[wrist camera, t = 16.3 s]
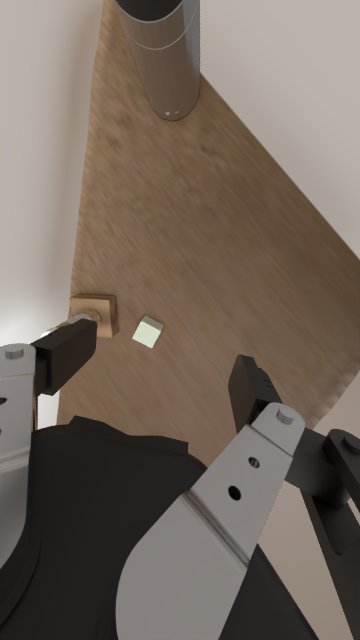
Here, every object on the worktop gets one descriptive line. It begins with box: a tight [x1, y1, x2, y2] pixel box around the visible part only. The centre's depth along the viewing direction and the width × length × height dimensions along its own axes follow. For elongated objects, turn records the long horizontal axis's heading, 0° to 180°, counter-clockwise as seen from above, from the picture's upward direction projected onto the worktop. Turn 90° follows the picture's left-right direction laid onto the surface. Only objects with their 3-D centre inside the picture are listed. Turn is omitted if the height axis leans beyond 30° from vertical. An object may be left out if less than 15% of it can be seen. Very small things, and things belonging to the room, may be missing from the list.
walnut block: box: [70, 294, 119, 338], centre depth 49 cm, size 9×9×4 cm
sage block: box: [133, 315, 164, 348], centre depth 49 cm, size 5×5×4 cm
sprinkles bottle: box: [40, 309, 100, 338], centre depth 41 cm, size 5×5×13 cm
